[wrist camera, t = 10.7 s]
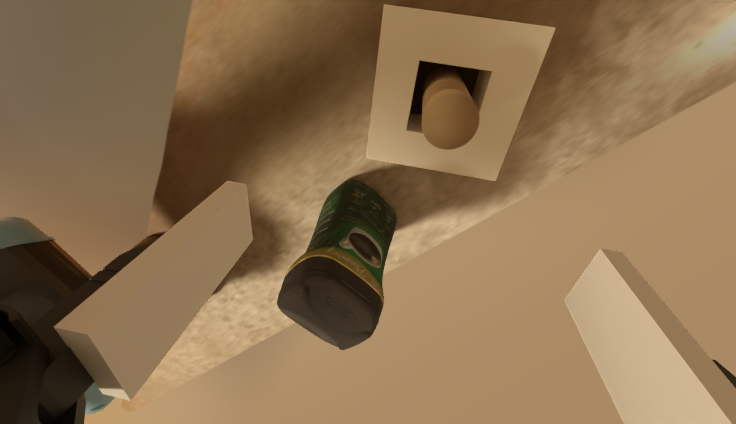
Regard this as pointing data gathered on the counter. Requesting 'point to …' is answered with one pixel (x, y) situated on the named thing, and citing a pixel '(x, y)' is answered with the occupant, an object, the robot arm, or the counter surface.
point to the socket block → (459, 48)
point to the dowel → (448, 110)
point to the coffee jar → (342, 268)
